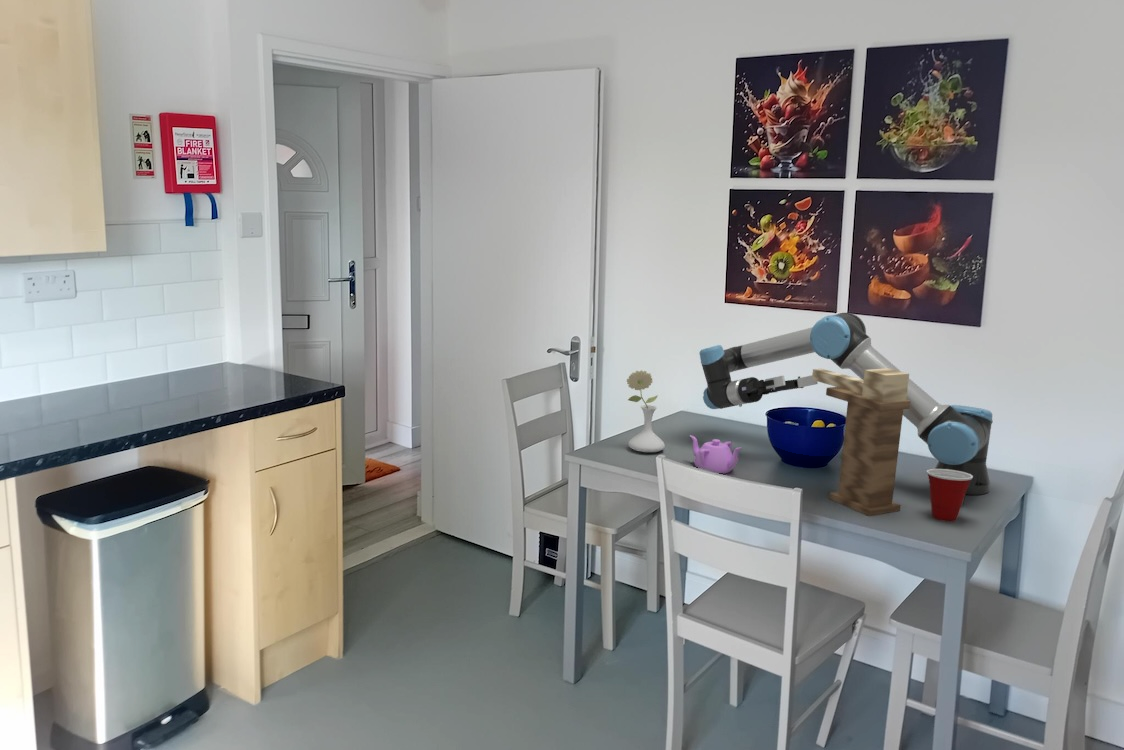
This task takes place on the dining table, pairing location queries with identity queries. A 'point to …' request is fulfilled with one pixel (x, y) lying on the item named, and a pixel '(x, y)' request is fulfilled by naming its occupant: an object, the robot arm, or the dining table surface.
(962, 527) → the dining table surface
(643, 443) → the flower in vase
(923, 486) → the dining table surface
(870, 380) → the meat mallet
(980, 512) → the dining table surface
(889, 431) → the walnut stand
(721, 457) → the teapot
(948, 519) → the plastic cup
